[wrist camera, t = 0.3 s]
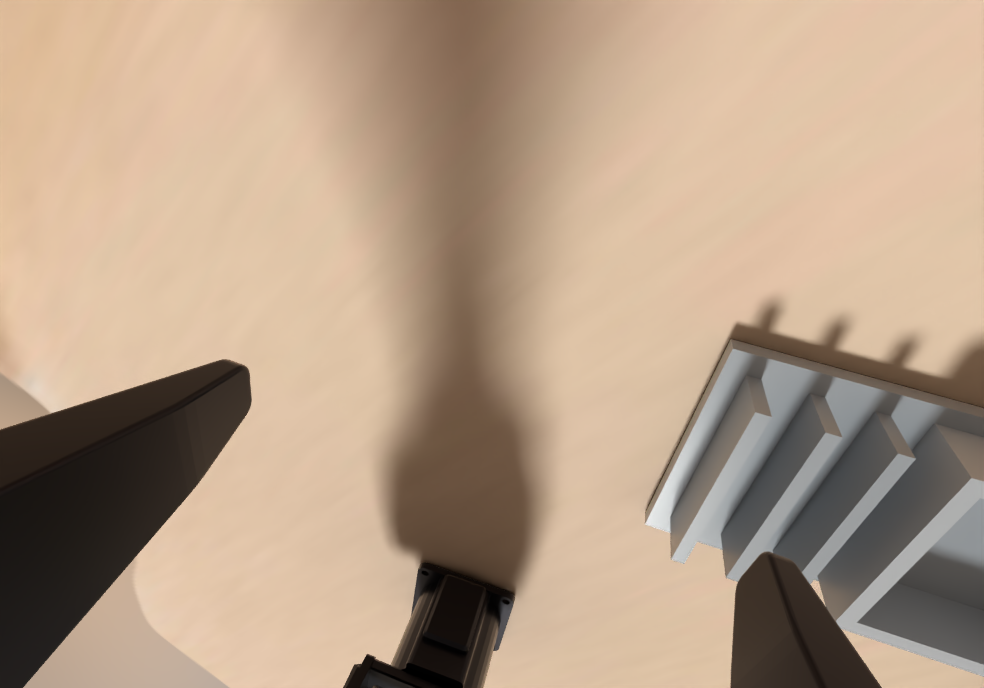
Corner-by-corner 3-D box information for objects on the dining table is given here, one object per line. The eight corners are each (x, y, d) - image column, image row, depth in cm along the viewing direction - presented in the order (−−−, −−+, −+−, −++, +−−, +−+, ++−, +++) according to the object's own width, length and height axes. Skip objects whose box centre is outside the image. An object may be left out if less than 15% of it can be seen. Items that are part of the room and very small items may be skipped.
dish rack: (1028, 636, 26) (1080, 722, 22) (645, 512, 28) (643, 574, 25) (1242, 478, 20) (1352, 565, 16) (730, 338, 22) (742, 391, 19)
